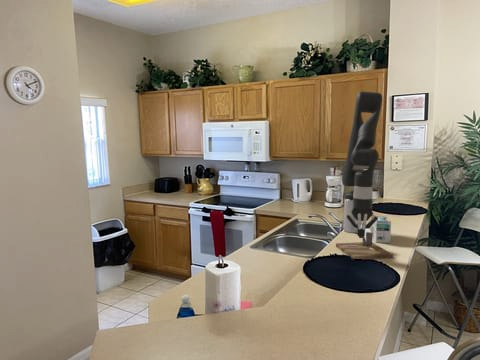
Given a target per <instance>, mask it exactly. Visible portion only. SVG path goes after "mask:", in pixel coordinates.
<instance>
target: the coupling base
mask: <svg viewBox="0 0 480 360" xmlns="http://www.w3.org/2000/svg"><path fill="white" fill-rule="evenodd" d="M335 248H337V249H338V250H340V251H341V252H342V253H344V254H345V255H347V256H348V257H349V256H350V257H351V259H352V258H353V259H362V260H375V259H376V260H377V259H380V260H381V259H393V258H394V254H393V253H391V252H390V251H388V250H387V249H384V248H382V247H381V246H379V245H377V244H375V243H373V242H372V246H367V245H366V240H365V237H363V238H362V241H360V242H357V241H355V242H340V243H339V242H336V243H335ZM350 257H349V258H350ZM353 259H352V260H353Z"/></svg>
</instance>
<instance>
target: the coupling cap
mask: <svg viewBox="0 0 480 360" xmlns="http://www.w3.org/2000/svg"><path fill="white" fill-rule="evenodd" d="M361 228H362V225H361ZM364 237H365V240H366V245H367V246H372V243H373V237H374V227H373V225H372V226H371V227H370V228H367V229H365V236H364Z"/></svg>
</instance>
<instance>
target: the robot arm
mask: <svg viewBox="0 0 480 360" xmlns="http://www.w3.org/2000/svg"><path fill="white" fill-rule="evenodd" d="M356 96H357V97H356V98H355V105H354V106H355V107H354V114H353V123H352V128H351V131H350V136H349V142H348V148H347V149H348V150H347V155H346V159H345V164H344V166H343V169H342V173H341V174H342V176H341V183H342V185H343V186H344V187H354V188H353V189H352V190H350V191H347V192H346V193H344V201H343V203H344V207H343V210H344V211H343V231H344V232H347V233H354V234H355V233H357V234H356V235H357V236H358V238H359V239H363V237H364V236H365V229H367V228H370V227H371V226H373V224H374V223H375V222H376V221H377V220H378V217H377V216H378V215H375V214H374V212H373V198H374V197H373V193H374V192H373V179H374V173H375V170H376V166H377V164H378V161H379V152H378V150H377V149H375V148H374V146H375V144H376V135H377V133H376V131H377V127H378V124H379V123H378V122H379V120H380V116H381V111H382V106H383V105H382V104H383V96H382V93H380V92H374V91H372V92H371V91H359V92H358V93H357V95H356ZM362 113H368V114H371V116H369V118H368V119H366V120H365V121H364V119H363V116H362ZM354 166H356V167H358V166H359V167H363V166H364V167H368V168H367V169H366V170H363V169H362V168H354ZM367 221H368V222H367ZM361 225H362V228H361Z"/></svg>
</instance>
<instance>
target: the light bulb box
mask: <svg viewBox="0 0 480 360" xmlns="http://www.w3.org/2000/svg"><path fill="white" fill-rule="evenodd" d="M376 216H377V217H378V220H377V221H376V222H375V223H374V224H373V225H372V226H373V227H374V237H372V239H373V240H374V242H375V243H380V244H381V243H382V244H384V243H385V244H391V236H392V235H391V234H392V233H391V231H392V227H391V225H392V220H390V219H389V217H387V216H382V215H381V216H379V215H376Z"/></svg>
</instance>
